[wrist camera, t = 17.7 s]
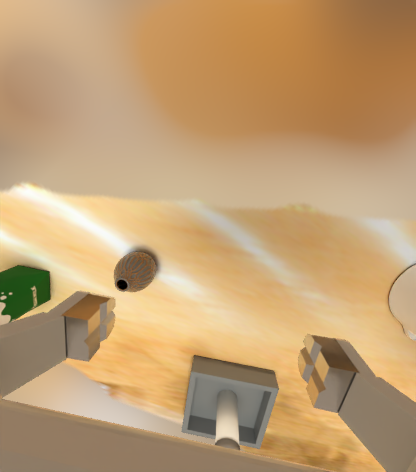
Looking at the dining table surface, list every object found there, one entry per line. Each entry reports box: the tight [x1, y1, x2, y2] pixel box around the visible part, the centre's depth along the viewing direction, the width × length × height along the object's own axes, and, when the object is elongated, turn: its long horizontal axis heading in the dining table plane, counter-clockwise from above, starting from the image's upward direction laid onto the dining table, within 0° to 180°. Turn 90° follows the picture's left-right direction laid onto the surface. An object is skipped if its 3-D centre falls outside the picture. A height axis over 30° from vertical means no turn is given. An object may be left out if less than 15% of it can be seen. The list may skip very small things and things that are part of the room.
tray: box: [182, 355, 279, 449], centre depth 45 cm, size 18×18×4 cm
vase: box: [114, 252, 156, 292], centre depth 36 cm, size 7×7×9 cm
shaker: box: [215, 390, 240, 451], centre depth 41 cm, size 5×5×11 cm
